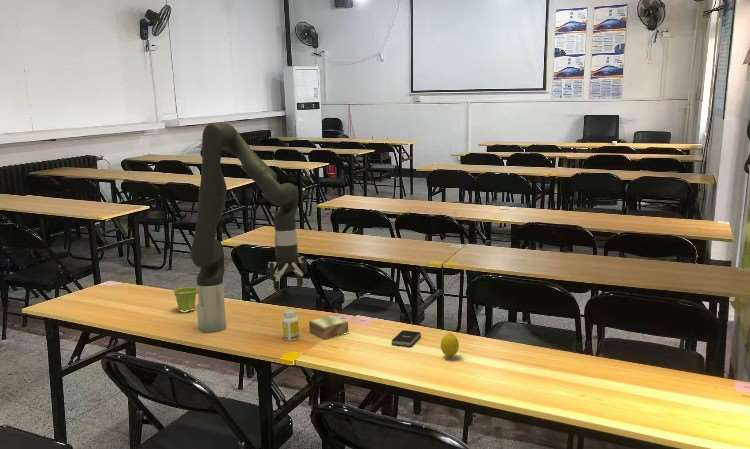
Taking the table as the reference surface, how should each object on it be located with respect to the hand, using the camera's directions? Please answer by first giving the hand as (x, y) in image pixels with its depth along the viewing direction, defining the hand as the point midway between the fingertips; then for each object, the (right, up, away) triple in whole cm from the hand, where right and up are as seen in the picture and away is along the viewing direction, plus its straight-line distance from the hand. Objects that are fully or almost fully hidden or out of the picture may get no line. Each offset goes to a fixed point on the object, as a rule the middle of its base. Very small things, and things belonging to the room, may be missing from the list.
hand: (288, 288), depth 205 cm
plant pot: (-47, -13, +37) cm, 61 cm away
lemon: (+53, -20, -17) cm, 59 cm away
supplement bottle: (0, -18, +3) cm, 18 cm away
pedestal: (+13, -16, +7) cm, 22 cm away
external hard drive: (+40, -18, -2) cm, 44 cm away
